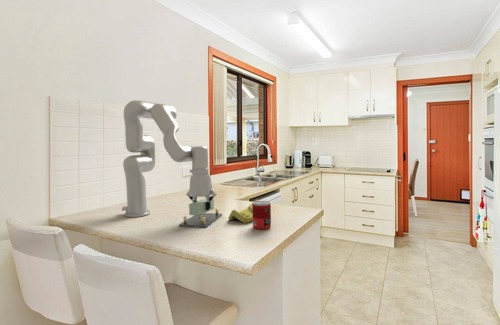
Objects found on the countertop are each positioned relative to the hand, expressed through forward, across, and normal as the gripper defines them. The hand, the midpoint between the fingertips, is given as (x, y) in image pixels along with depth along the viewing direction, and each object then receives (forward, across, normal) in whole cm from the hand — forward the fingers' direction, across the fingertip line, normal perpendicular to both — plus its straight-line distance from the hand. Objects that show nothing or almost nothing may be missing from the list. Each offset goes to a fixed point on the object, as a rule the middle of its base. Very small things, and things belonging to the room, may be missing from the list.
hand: (202, 209), depth 141 cm
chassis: (+5, 0, 0) cm, 5 cm away
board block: (+1, 0, 0) cm, 1 cm away
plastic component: (+6, +21, +8) cm, 23 cm away
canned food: (+6, +30, -7) cm, 32 cm away
